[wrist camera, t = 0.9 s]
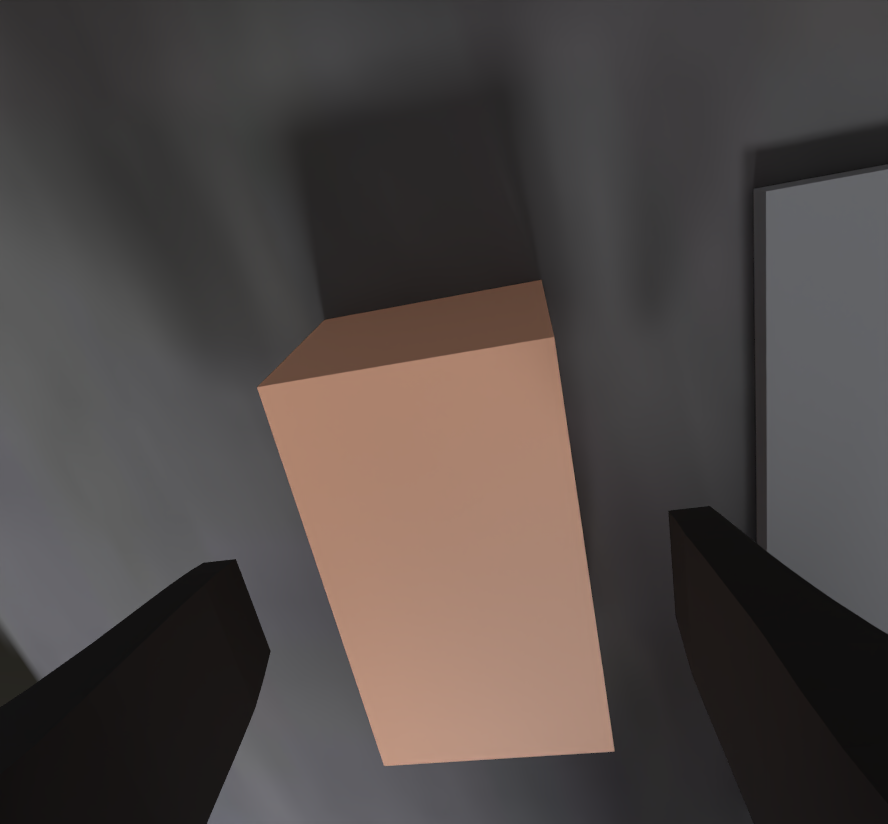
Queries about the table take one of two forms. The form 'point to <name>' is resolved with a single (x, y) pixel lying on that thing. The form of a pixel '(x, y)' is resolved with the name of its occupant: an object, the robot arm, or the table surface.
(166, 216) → the table surface
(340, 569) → the light orange rectangular block
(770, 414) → the mat
